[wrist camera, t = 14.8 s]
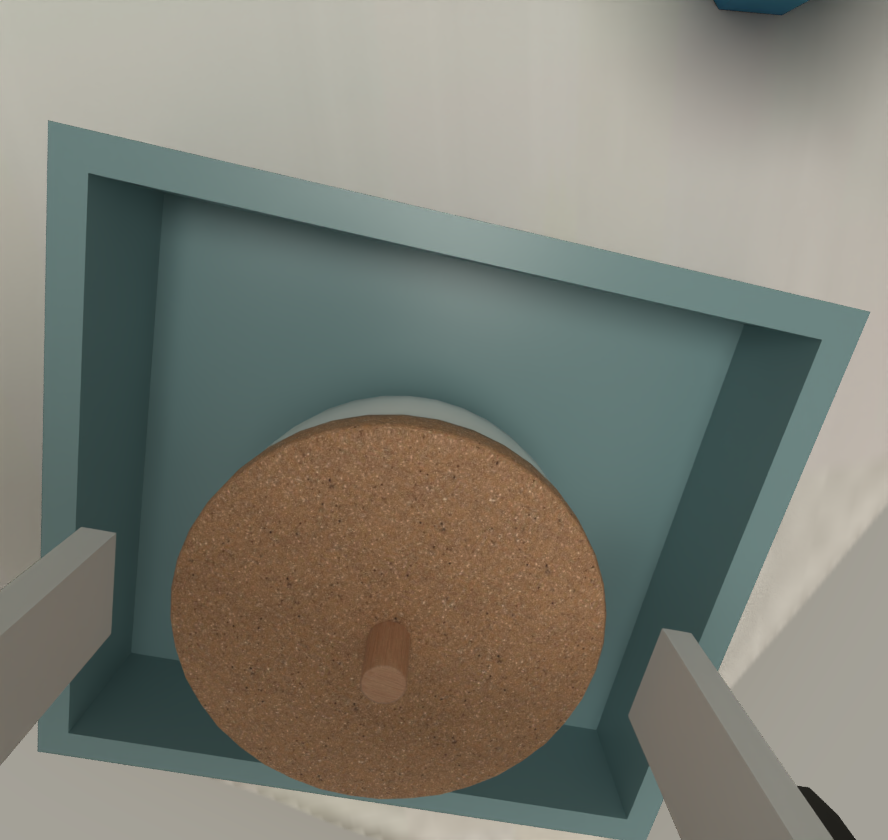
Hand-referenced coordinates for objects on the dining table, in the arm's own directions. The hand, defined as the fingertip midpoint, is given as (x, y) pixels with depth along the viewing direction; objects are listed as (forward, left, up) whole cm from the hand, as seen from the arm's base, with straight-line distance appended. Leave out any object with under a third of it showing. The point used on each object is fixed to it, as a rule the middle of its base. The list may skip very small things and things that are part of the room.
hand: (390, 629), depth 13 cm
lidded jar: (0, 0, -8) cm, 8 cm away
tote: (0, 0, -9) cm, 9 cm away
